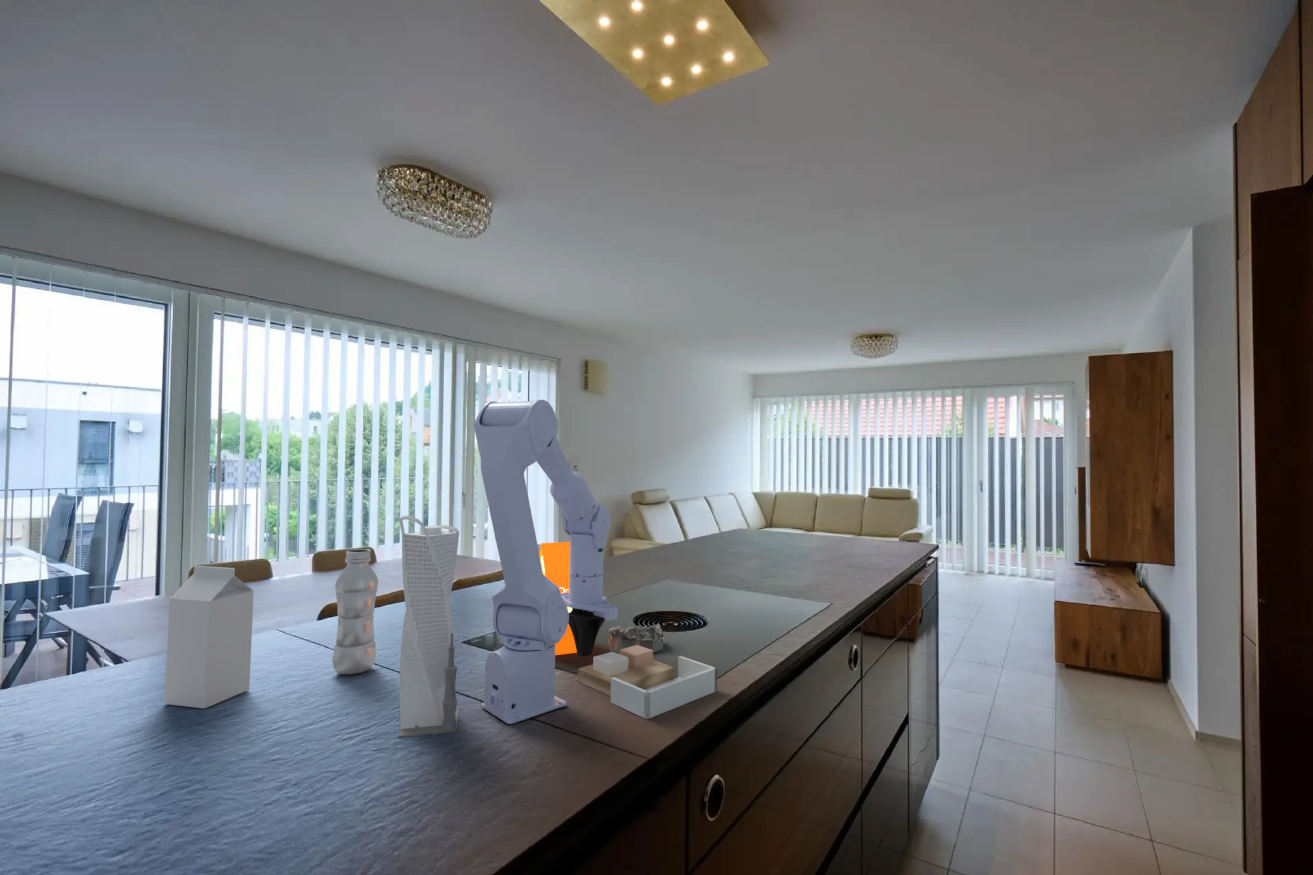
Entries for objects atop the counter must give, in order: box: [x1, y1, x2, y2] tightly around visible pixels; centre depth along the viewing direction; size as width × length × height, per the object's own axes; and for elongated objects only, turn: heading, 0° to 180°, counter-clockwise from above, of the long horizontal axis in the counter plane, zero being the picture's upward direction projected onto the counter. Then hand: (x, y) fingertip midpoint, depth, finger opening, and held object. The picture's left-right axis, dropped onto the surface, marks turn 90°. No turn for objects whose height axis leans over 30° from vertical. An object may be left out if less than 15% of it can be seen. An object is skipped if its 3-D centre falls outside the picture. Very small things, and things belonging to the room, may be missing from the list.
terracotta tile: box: [618, 645, 654, 668], centre depth 98 cm, size 4×4×2 cm
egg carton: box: [607, 623, 666, 654], centre depth 113 cm, size 11×8×4 cm
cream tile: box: [592, 651, 628, 676], centre depth 94 cm, size 4×4×2 cm
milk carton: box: [164, 565, 255, 709], centre depth 86 cm, size 7×7×19 cm
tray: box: [610, 655, 718, 720], centre depth 89 cm, size 15×8×4 cm, turn 134°
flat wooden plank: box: [577, 659, 675, 697], centre depth 95 cm, size 12×10×2 cm
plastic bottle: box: [331, 548, 379, 675], centre depth 97 cm, size 6×7×20 cm
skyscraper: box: [397, 515, 460, 738], centre depth 80 cm, size 8×8×28 cm
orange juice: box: [539, 541, 577, 656], centre depth 112 cm, size 8×9×20 cm
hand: (584, 655), depth 99 cm, fingers closed
